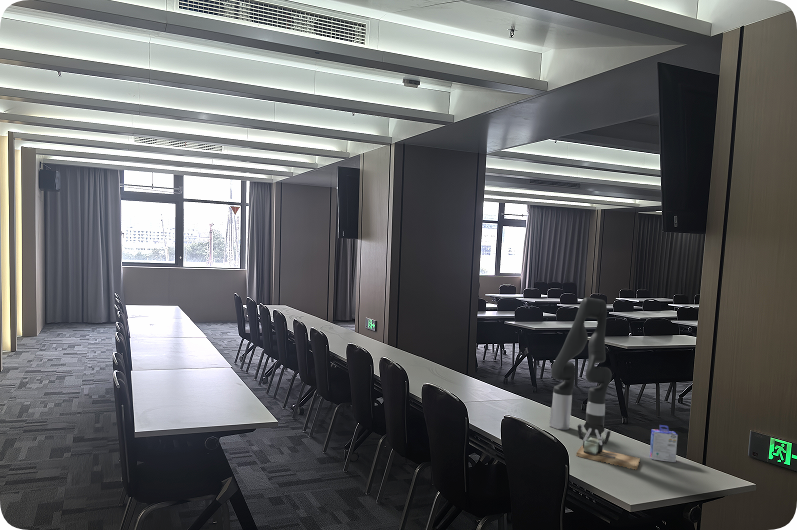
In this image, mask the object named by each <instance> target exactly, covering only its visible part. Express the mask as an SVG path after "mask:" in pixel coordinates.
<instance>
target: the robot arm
mask: <svg viewBox="0 0 797 530" xmlns="http://www.w3.org/2000/svg"><path fill="white" fill-rule="evenodd" d="M607 315H608V305H607V303H606V301H605V300H604V299H601V298H600V299H599V298H593V297H584V298H583V299H581V302H580V304H579V307H578V309H577V312H576V315H575V317H574V318H575V319H574V321H573V322H572V323H573V324H572V326H571V328H570V330H569V332H568V334H567V336H566V338H565V341H564V343H563V346H562V348H561V349H560V351H559V353H558V355H557V356H556V358H555V359H554V361H553V364H552V366H551V370H550V375H551V377H552V378H553V379H554V380H557V381H562V382H561V383H559V384H557V385H554V386H553V391H552V403H551V407H550V414H549V415H550V416H549V427H551V428H553V429H557V430H564V431H565V430H567V431H568V430H569V429H570V426H571V415H572V404H573V403H572V401H573V391H574V387H575V380H576V379H575V378H576V372H577V371H576V366H575V364H574V362H572V361H571V360H572V359H574V358H575V357H576V356H578V355H579V354H581V353H582V351H584V349H585V347H586V346H587V342H588V347H587V349H588V360H587V367H586V370H585V379H586V380H587V382H590V383H593V384H600V385H598V386H595V387H591V388H589V389H588V394H587V395H588V396H587V404H586V410H585V423H584V424H580V423H579V424H578V425H577V433H578V438H579V439H580V440H581V441H582V442H583V443H582V445H583V448H584V442H585V441H586V440H588V439H589V438H590V437H595V438H596V439H598V441H599V451H598V453H601V452H602V451H603V450H604V449H603V448H604V445H608V443H609V439H610V437H611V433H612V430H610V429H609V430H608V429H605V415H606V396H607V395H606V394H607V391H608V387H609V385H610V382H611V380H612V376H613V375H612V371H611V369H610V368H608V367H606V366H595V364H602V363H604V362H605V361H606V359H607V357H606V356H607V355H606V328H607V327H606V326H607ZM586 319H595V320H596V321H597V324H596V327H595V329H594V331H593V333H592V334H591V336H590V338H589V336H588V331H587V329H586V326H585V321H586ZM588 339H589V341H588ZM584 429H585V432H586V433H585V435H583V430H584ZM603 433H604V435H605V439H603V435H602V434H603Z"/></svg>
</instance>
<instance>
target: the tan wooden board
mask: <svg viewBox="0 0 797 530" xmlns="http://www.w3.org/2000/svg"><path fill="white" fill-rule="evenodd" d="M575 455H576V457H578V456H579V458H583V459H587V458H588V460H591V461H597V462H600V461H601V463H604V462H606V463H605V464H608V463H610V464H609V465H613V464H614V465H613V466H617V465H619V466H618V467H621V466H623V467H622V468H625V467H627V468H626V469H630V468H632V469H631V470H634V469H635V470H634V471H637V470H638V467H639V464H640V463H641V458H640V457H636V456H631V455H627V454H623V453H620V452H619V453H618V452H613V451H609V450H605V449H603V451H602V452H601V453H598V454H597V455H592V454H588V453H584V448H583V444H582V445H581V446H580V448H578V449H577V452H576V454H575ZM639 462H640V463H639Z"/></svg>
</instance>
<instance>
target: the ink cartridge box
mask: <svg viewBox="0 0 797 530" xmlns="http://www.w3.org/2000/svg"><path fill="white" fill-rule="evenodd" d="M650 432H651V433H650V448H649V458H651V460H655V461H662V462H663V461H664V462H667V463H676V462H677V461H676V460H677V448H678V447H677V445H678V436H679V435H678V433H676V432H675V431H673V430H672V431H671V430H670V429H669V426H668V425H662V424H659V429H653V428H652V429H651V431H650Z"/></svg>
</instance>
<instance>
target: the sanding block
mask: <svg viewBox="0 0 797 530" xmlns="http://www.w3.org/2000/svg"><path fill="white" fill-rule="evenodd" d="M598 451H599V441H598V438H596V437H595V438H594V437H592V436H589V437H588V439H587V440H586V441H585V442H584V453H588V454H592V455H597V454H598Z"/></svg>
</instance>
